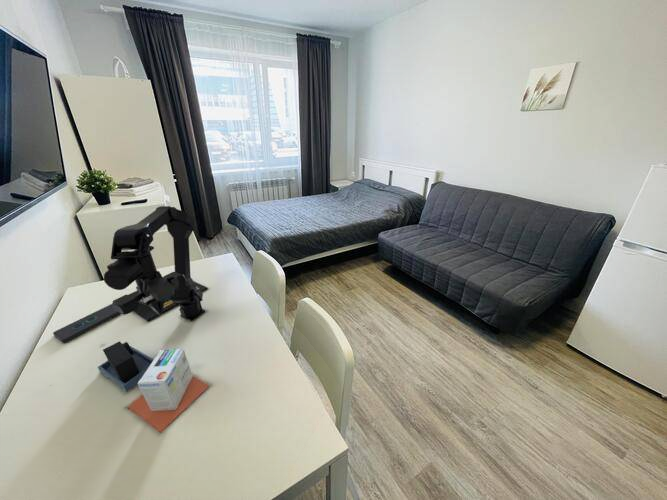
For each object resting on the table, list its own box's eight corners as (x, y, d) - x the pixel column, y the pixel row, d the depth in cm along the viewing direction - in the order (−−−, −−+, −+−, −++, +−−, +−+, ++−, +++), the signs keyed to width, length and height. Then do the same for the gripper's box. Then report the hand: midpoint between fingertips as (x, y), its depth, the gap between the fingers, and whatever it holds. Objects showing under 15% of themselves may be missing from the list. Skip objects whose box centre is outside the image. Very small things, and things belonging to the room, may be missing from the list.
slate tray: (133, 351, 87) (130, 345, 86) (159, 367, 81) (157, 361, 80) (100, 372, 80) (97, 367, 79) (127, 392, 74) (123, 386, 73)
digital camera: (145, 371, 79) (137, 354, 76) (123, 384, 75) (114, 366, 72) (132, 355, 85) (124, 338, 82) (111, 366, 81) (102, 349, 78)
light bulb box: (170, 376, 78) (159, 348, 73) (194, 375, 78) (184, 347, 73) (150, 412, 68) (135, 383, 63) (177, 410, 68) (164, 381, 64)
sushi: (148, 321, 100) (145, 313, 99) (117, 301, 113) (114, 293, 111) (207, 289, 119) (205, 282, 118) (176, 274, 132) (174, 268, 130)
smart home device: (51, 332, 94) (115, 301, 110) (54, 335, 95) (117, 304, 110) (61, 340, 90) (126, 307, 106) (64, 344, 91) (128, 310, 107)
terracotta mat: (177, 367, 81) (177, 367, 81) (209, 385, 75) (209, 385, 75) (127, 407, 70) (127, 406, 70) (160, 432, 64) (160, 432, 64)
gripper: (124, 294, 66) (145, 342, 73) (191, 261, 81) (203, 304, 88) (101, 283, 71) (122, 329, 77) (168, 255, 86) (181, 295, 92)
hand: (160, 314), depth 84 cm, fingers closed
